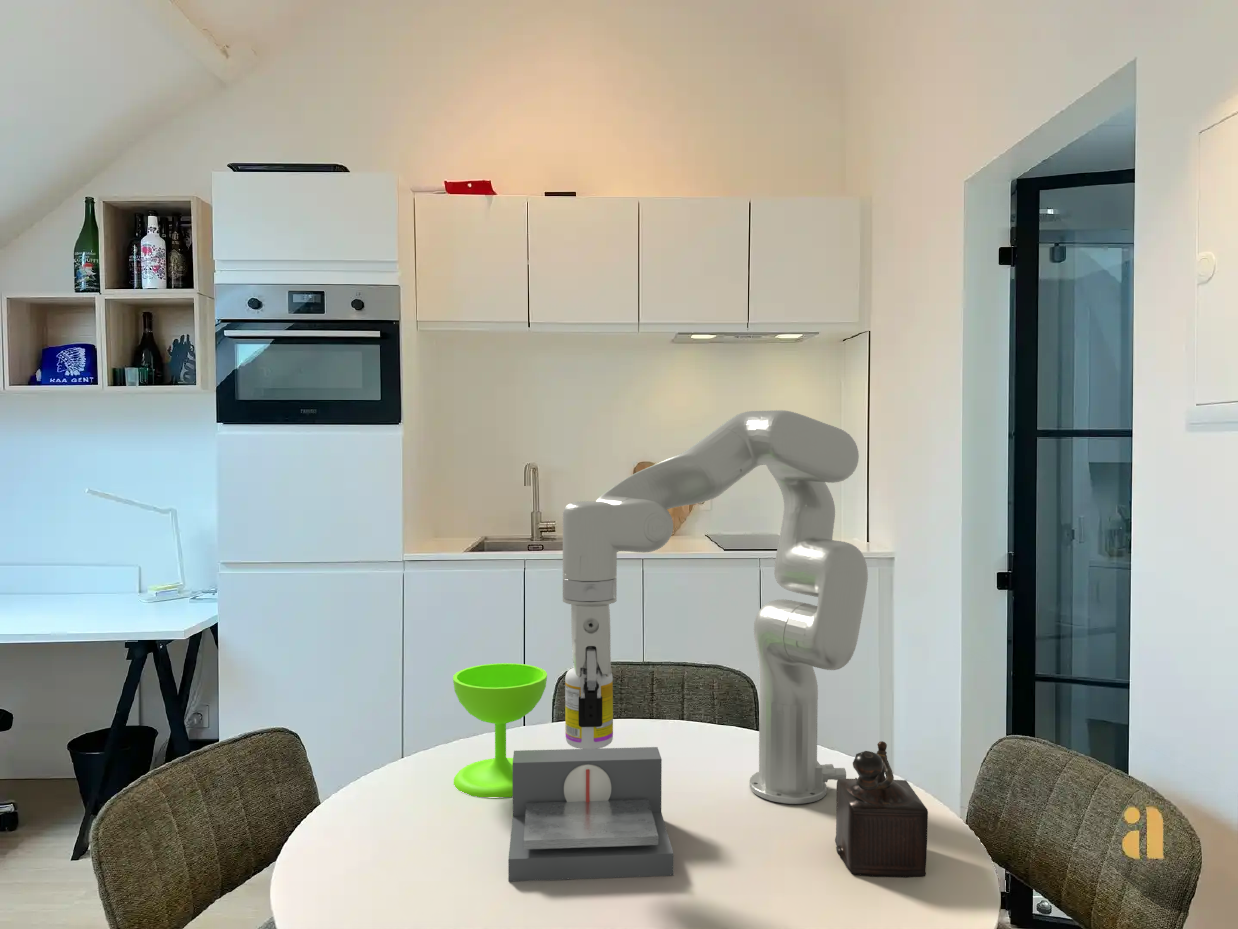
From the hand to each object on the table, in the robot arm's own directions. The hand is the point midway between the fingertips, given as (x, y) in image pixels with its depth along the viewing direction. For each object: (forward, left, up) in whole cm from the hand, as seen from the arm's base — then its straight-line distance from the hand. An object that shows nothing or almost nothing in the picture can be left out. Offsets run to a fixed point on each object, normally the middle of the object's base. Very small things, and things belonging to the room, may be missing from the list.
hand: (589, 716), depth 123 cm
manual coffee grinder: (-40, +6, -20) cm, 45 cm away
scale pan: (0, 0, -16) cm, 16 cm away
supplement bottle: (0, 0, -4) cm, 4 cm away
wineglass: (+14, -29, -20) cm, 38 cm away
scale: (0, -3, -20) cm, 20 cm away
